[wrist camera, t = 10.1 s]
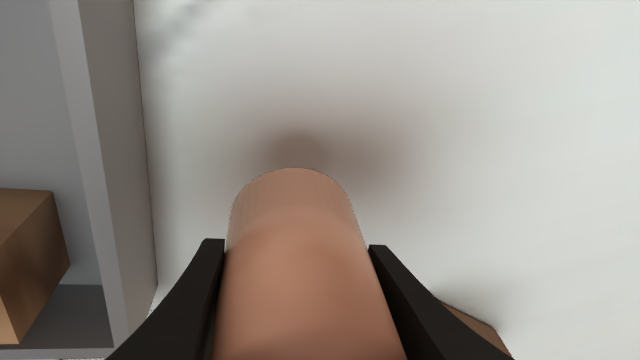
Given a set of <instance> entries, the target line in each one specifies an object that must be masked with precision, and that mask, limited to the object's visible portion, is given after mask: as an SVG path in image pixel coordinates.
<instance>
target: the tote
mask: <svg viewBox="0 0 640 360" xmlns="http://www.w3.org/2000/svg"><path fill="white" fill-rule="evenodd" d="M0 188H13V189H30V190H47V191H53V194H54V198H55V202H56V207H57V211H58V215H59V219H60V223H61V227H62V231H63V235H64V240H65V244H66V248H67V252H68V256H69V260H70V264H71V266H70V267H69V269H68V270H67V272H66V273H65V275H64V276H63V278H62V279H61V281H60V282H59V284H58V285H57V287H56V289H55V290H54V292H53V293H52V295H51V296H50V298H49V299H48V301H47V302H46V304H45V305H44V307H43V308H42V310H41V311H40V313H39V314H38V316H37V318H36V319H35V321H34V322H33V324H32V325H31V327H30V328H29V330H28V331H27V333H26V334H25V336H24V337H23V339H22V340H21V342H20V344H0V360H29V359H84V358H107V357H108V356H109V355H110V354H112V353H113V352H114V351H115V350H116V349H117V348H118V347H119V346H120V345H121V344H122V343H123V342H124V341H125V340H126V339H127V338H128V337H129V336H130V335H131V334H132V333H133V332H134V331H135V330H136V329H137V328H138V327H139V326H140V325H141V324H142V323H143V322H144V321H145V320H146V318H147V315H148V312H149V310H150V307H151V304H152V301H153V298H154V295H155V292H156V289H157V286H158V282H157V271H156V259H155V248H154V237H153V225H152V214H151V202H150V191H149V180H148V168H147V157H146V146H145V134H144V123H143V112H142V100H141V89H140V78H139V66H138V55H137V44H136V32H135V21H134V9H133V0H0Z"/></svg>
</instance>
